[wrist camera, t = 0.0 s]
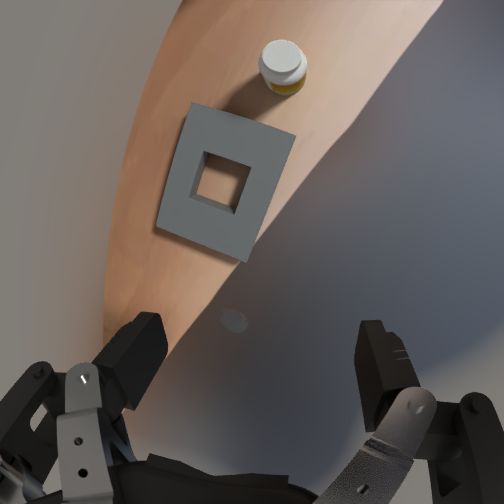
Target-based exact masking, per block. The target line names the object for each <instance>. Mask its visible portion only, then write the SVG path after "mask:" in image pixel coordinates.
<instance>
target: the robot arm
mask: <svg viewBox="0 0 504 504" xmlns="http://www.w3.org/2000/svg"><path fill="white" fill-rule="evenodd" d="M167 352H168V342H167V338H166V334H165V331H164V327H163V323H162V319H161V316H160V314H158V313H151V312H140V313H139V314H138V315H137V317H136V318H135V319H134V320H133V321H132V322H129V323H128V324H126V325H124V326H123V327H121V328H120V329H119V331H118V332H117V333H116V334H115V337H113V338H112V339H111V340H110V342H109V343H107V345H106V346H105V347H104V348H103V349H102V351H101V352H100V353H99V354H98V355H97V357H96V358H95V359H94V360H93V361H92V363H80V364H78V365H76V366H73V367H72V368H71V369H70V370H69V371H68V372H67V373H56V372H54V370H53V368H52V366H51V365H50V364H49V363H48V362H44V361H41V362H37V363H35V364H33V365H31V366H30V367H29V368H28V369H27V370H26V371H25V373H24V374H23V375H22V376H21V377H20V378H19V380H18V381H17V382H16V383H15V384H14V386H13V387H12V388H11V389H10V390H9V391H8V393H7V394H6V395H5V396H4V398H3V399H2V400H1V401H0V504H389V502H390V501H391V499H392V498H393V496H394V495H395V493H396V492H397V490H398V489H399V487H400V486H401V484H402V482H403V481H404V479H405V477H406V476H407V474H408V472H409V471H410V469H411V467H412V465H413V462H414V461H413V459H426V460H427V461H428V468H429V474H430V482H431V489H432V499H433V504H504V431H503V428H502V426H501V423H500V421H499V418H498V415H497V413H496V411H495V408H494V406H493V404H492V402H491V400H490V399H489V398H488V397H487V396H486V395H484V394H481V393H477V392H472V393H468V394H466V395H465V396H464V397H463V398H462V399H461V401H460V403H450V402H440V401H436V398H435V397H434V395H433V394H432V393H431V392H429V391H428V390H427V389H424V388H421V386H420V383H419V381H418V378H417V376H416V373H415V371H414V368H413V366H412V364H411V361H410V359H409V356H408V354H407V352H406V349H405V347H404V344H403V342H402V340H401V339H400V338H399V337H398V336H397V335H396V334H395V333H393V332H386V331H385V328H384V326H383V324H382V321H381V320H363V321H361V323H360V328H359V333H358V338H357V344H356V348H355V354H354V365H355V371H356V376H357V382H358V387H359V393H360V398H361V404H362V411H363V417H364V424H365V430H366V432H374V433H373V435H372V436H371V438H370V439H369V440H368V441H366V442H365V443H364V444H363V446H362V447H361V448H360V449H359V451H358V452H357V453H356V455H355V456H354V457H353V458H352V460H351V461H350V462H349V463H348V465H347V466H346V467H345V468H344V469H343V471H342V472H341V473H340V474H339V475H338V476H337V478H336V479H335V480H334V481H333V482H332V483H331V484H330V486H329V487H328V488H327V489H326V490H325V491H324V492H323V493H322V494H321V495H320V496H318V495H316V494H315V493H313V492H311V491H309V490H307V489H305V488H303V487H299V486H297V485H293V484H290V483H288V477H289V476H288V475H268V474H255V473H249V474H239V475H223V476H213V475H209V474H207V473H204V472H202V471H200V470H197V469H195V468H193V467H191V466H189V465H187V464H185V463H182V462H181V461H177V460H172V459H169V458H165V457H161V456H158V455H154V454H151V453H150V454H149V456H148V458H147V460H146V461H137V459H136V457H135V455H134V453H133V451H132V448H131V444H130V440H129V437H128V433H127V429H126V425H125V421H124V417H123V415H122V413H121V412H122V410H123V408H127V409H130V410H135V409H136V407H137V406H138V404H139V402H140V400H141V399H142V397H143V395H144V393H145V392H146V390H147V388H148V386H149V385H150V383H151V381H152V380H153V377H154V376H155V374H156V373H157V371H158V369H159V367H160V366H161V364H162V362H163V361H164V359H165V357H166V355H167ZM41 404H42V405H43V406H44V407H45V409H46V410H47V411H48V412H47V414H46V415H45V416H44V418H43V419H42V421H41V422H40V424H39V425H38V427H37V428H36V430H35V431H34V432H33V430H32V429H31V427H30V420H31V418H32V416H33V414H34V413H35V412H36V410H37V409H38V408H39V406H40V405H41ZM57 458H59V469H60V476H61V477H60V478H61V485H62V490H59V491H57V492H54V493H51V494H48V495H46V493H45V492H44V491H43V487H42V485H43V484H44V482H45V480H46V478H47V476H48V474H49V472H50V470H51V468H52V467H53V465H54V463H55V461H56V459H57Z"/></svg>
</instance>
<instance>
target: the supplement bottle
mask: <svg viewBox="0 0 504 504" xmlns="http://www.w3.org/2000/svg"><path fill="white" fill-rule="evenodd" d="M259 69H260V72H261V74H262V76H263V78H264V81H265V83H266V85H267V86H268V88H269V89H270V90H272V91H273V92H275V93H277V94H280V95H291V94H294V93H296V92H298V91H299V90H300V89H301V88H302V87H303V85H304V83H305V78H306V71H307V60H306V57H305V55H304V54H303V52H302V51H301V50H300V49H299V48H298V47H297V46H296V45H295V44H294V43H292V42H290V41H287V40H275V41H272V42H270V43H269V44H268V45H266V46H265V48H264V49H263V52H262V54H261V55H260V58H259Z"/></svg>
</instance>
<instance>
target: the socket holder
mask: <svg viewBox="0 0 504 504" xmlns="http://www.w3.org/2000/svg"><path fill="white" fill-rule="evenodd" d="M295 138H296V136H295V135H293V134H290V133H288V132H285V131H282V130H280V129H277V128H274V127H271V126H268V125H266V124H263V123H260V122H257V121H254V120H251V119H248V118H245V117H242V116H238V115H235V114H232V113H229V112H225V111H222V110H218V109H215V108H211V107H207V106H204V105H200V104H196V103H191V106H190V109H189V112H188V115H187V118H186V121H185V124H184V126H183V130H182V133H181V136H180V139H179V142H178V145H177V148H176V152H175V155H174V158H173V162H172V165H171V169H170V172H169V176H168V179H167V183H166V187H165V190H164V194H163V198H162V202H161V206H160V210H159V214H158V219H157V223H156V227H159V228H161V229H164V230H166V231H169V232H171V233H174V234H176V235H179V236H181V237H184V238H186V239H189V240H191V241H193V242H196V243H198V244H201V245H203V246H206V247H208V248H211V249H213V250H216V251H218V252H221V253H223V254H226V255H228V256H231V257H233V258H236V259H239V260H241V261H244V262H247V260H248V258H249V255H250V253H251V250H252V248H253V245H254V243H255V240H256V237H257V235H258V232H259V230H260V227H261V225H262V222H263V220H264V217H265V214H266V212H267V209H268V207H269V204H270V202H271V199H272V197H273V194H274V191H275V189H276V186H277V184H278V181H279V179H280V176H281V174H282V171H283V168H284V166H285V163H286V161H287V158H288V156H289V153H290V151H291V148H292V145H293V143H294V140H295ZM209 153H212V154H215V155H218V156H221V157H224V158H227V159H230V160H233V161H236V162H238V163H241V164H244V165H247V166H250V167H252V168H251V170H250V173H249V176H248V178H247V181H246V184H245V187H244V189H243V192H242V195H241V198H240V201H239V203H238V206H237V209H235V208H233V207H230V206H227V205H225V204H222V203H219V202H217V201H214V200H211V199H209V198H206V197H203V196H201V195H198V194H196V193H197V189H198V186H199V183H200V180H201V177H202V173H203V170H204V167H205V164H206V161H207V158H208V155H209Z"/></svg>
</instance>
